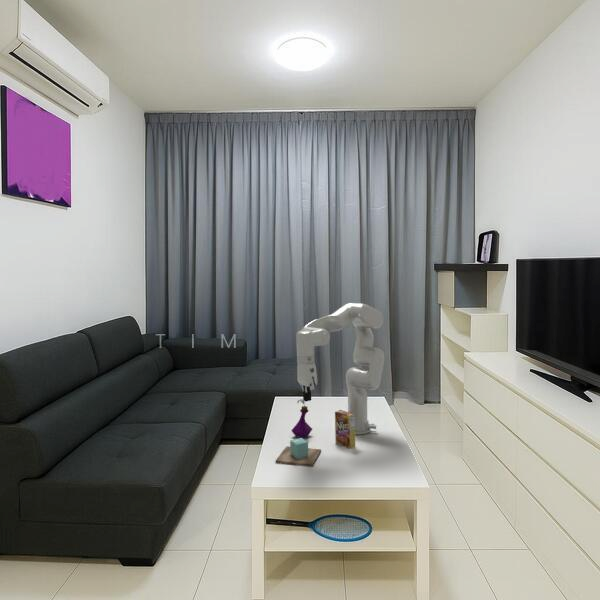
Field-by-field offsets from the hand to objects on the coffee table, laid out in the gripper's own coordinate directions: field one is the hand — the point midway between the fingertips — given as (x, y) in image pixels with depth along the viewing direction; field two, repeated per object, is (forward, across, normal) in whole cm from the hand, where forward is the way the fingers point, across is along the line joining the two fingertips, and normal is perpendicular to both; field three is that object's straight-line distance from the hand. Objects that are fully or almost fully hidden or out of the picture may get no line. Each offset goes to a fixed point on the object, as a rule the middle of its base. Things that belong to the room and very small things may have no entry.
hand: (307, 400), depth 201 cm
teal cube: (+22, -2, +6) cm, 23 cm away
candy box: (+24, -2, -18) cm, 30 cm away
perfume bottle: (+24, +18, -7) cm, 31 cm away
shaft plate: (+23, -2, +7) cm, 24 cm away
